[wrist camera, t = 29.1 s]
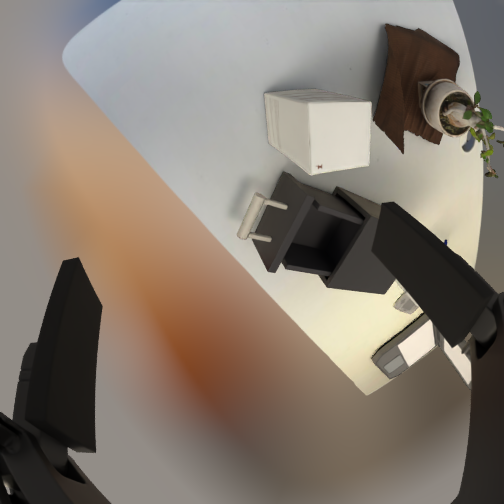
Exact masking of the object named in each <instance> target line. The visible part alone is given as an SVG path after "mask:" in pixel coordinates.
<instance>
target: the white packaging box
mask: <svg viewBox="0 0 504 504" xmlns="http://www.w3.org/2000/svg"><path fill="white" fill-rule="evenodd" d="M264 100H265V110H266V120H267V130H268V140H269V144H271V145H272V146H273V147H274V148H276V149H277V150H278V151H280V152H281V153H282V154H284V155H285V156H286V157H288V158H289V159H290V160H291V161H293V162H294V163H295V164H296V165H298V166H299V167H300V168H302V169H303V170H304V171H305V172H306V173H308V174H309V175H310V176H311V175H316V174H321V173H326V172H332V171H339V170H345V169H351V168H358V167H365V166H369V161H370V140H371V102H370V101H366V100H362V99H358V98H355V97H350V96H346V95H341V94H337V93H333V92H328V91H324V90H319V89H303V90H289V91H277V92H268V93H264Z"/></svg>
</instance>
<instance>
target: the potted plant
mask: <svg viewBox="0 0 504 504" xmlns="http://www.w3.org/2000/svg"><path fill="white" fill-rule="evenodd" d="M385 25H386V27H385V29H386V32H387V35H388V58H387V66H386V71H385V77H384V82H383V86H382V91H381V94H380V98H379V102H378V104H377V109H376V112H375V115H374V117H373V122H374V121H375V124H376V125H377V126H378V127H379V128H380V129H381V130H382V131H383V132H384V131H385V134H386V135H387V136H388V138H389V139H391V141H392V142H393V143H394V144H395V145H396V146H397V147H398V148H399V150H401V153H402V154H404V137H403V136H404V130H406V131H407V130H409V131H410V132H411V131H412V133H415V135H416V136H419V135H420V136H422V138H423V139H426V140H428V141H429V142H433V143H434V144H438V145H439V144H440V141H441V138H442V135H443V133H444V134H446V135H448V136H450V137H459V136H461V135H463V134H465V133H466V132H467V131H468V130H469V129H470V132H471V134H472V135H473V136H474V137H475V139H476V140H478V142H480V140H482V141H484V144H485V145H486V147H487V151H481V152H482V153H481V154H480V155H481V158H482V157H483V159H485V158H486V156H487V159H486V162H487V169H488V170H489V172H488V173H486V174H485V176H487V177H492V176H495V177H496V178H497V177H498V176H496V175H495V174H496V173H495V170H494V169H492V168H491V166H490V163H489V162H490V160H489V156H490V155H492V153H493V150H492V149H493V147H492V145H490V144H489V139H492V140H493V139H494V138H495V133H493V134H492V135H491V136H490V137H488V136H487V135H486V132H485V131H484V129H486V130H487V131H488V132H489V133H492V132H493V129H499V130H502V131H504V128H503V127H501V126H500V127H499V126H495V125H493V123H492V122H489V119H492V115H491V113H490V111H489V110H487V109H483V108H480V107H478V105H476V104H478V103H479V102H480V99H481V98H480V94H479V92H478V91H477V92H476V93H475V95H474V102H473V100H472V98H471V97H470V95H469V94H468V93H467V92H466V91H464V90H463V89H462V88H460V87H459V86H458V85H457V84H456V83H455V81H456V73H457V70H458V68H459V65H460V59H459V55H458V54H457V53H456V52H455V51H454V50H452V49H451V48H449V47H448V46H446V45H445V44H443V43H441V42H440V41H438V40H437V39H435V38H434V37H432V36H431V35H429V34H428V33H426V32H425V31H423V30H421V29H419V28H418V29H417V30H415V31H414V30H410V29H406V28H403V27H400V26H397V25H396V27H395V26H392V25H389V24H385ZM475 105H476V106H475ZM476 107H477V108H479V109H480V110H481V111H482V112H481V113H480V112H478V111H477V112H476V111H475V108H476ZM470 127H471V128H470ZM473 128H475V129H476V130H478V131H476V132H475V131H474V129H473ZM483 138H484V140H483ZM497 142H498V143H503V147H504V141H499V140H497ZM483 152H484V153H483ZM484 161H485V160H484Z"/></svg>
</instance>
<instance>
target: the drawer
mask: <svg viewBox="0 0 504 504" xmlns="http://www.w3.org/2000/svg"><path fill="white" fill-rule="evenodd" d="M263 203H264V204H267V205H268V206H267V208H266V210H265V212H264V214H263V216H262V219H261V221H260V223H259V225H258V227H257V229H256V232H255V233H252V232H250V231H251V229H252V227H253V224H254V222H255V220H256V218H257V216H258V213H259V211H260V209H261V207H262V205H263ZM364 220H365V217H364V216H363V215H362V214H361V213H360V212H359V211H357V210H356V209H355V208H354V207H353V206H352V205H351V204H350V203H348V202H347V201H346V200H344V199H341V198H339V197H336V196H334V195H331V194H328V193H326V192H323V191H321V190H318V189H315V188H312V187H310V186H307V185H304V184H301V183H299V182H298V181H297V180H296V179H295V178H294V177H293V176H292V175H291V174H289V173H286V172H283V173H282V175H281V177H280V180H279V182H278V184H277V186H276V188H275V190H274V193H273V195H272V197H271V199H267V198H265V196H263V195H262V194H259V193H255V194H254V196H253V198H252V201H251V203H250V205H249V208H248V210H247V212H246V215H245V217H244V219H243V222H242V224H241V226H240V229H239V231H238V233H237V236H238V237H239V238H240V239H243V240H246V239H247V238H252V240H253V243H254V245H255V247H256V249H257V251H258V253H259V255H260V257H261V259H262V261H263V263H264V265H265V267H266V269H267V271H268V272H273V273H276V271H277V269H278V267H279V265H280V263H281V262H282V264H283V266H284V267H285V269H287V270H293V271H299V272H305V273H312V274H318V275H324V276H330V275H331V274H332V272H333V271H334V269H335V267H336V266H337V264H338V263H339V261H340V260H341V258H342V256H343V255H344V253H345V251H346V250H347V248H348V247H349V245H350V243H351V242H352V240H353V238H354V237H355V235H356V233H357V232H358V230H359V228H360V226H361V225H362V223H363V221H364Z"/></svg>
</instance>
